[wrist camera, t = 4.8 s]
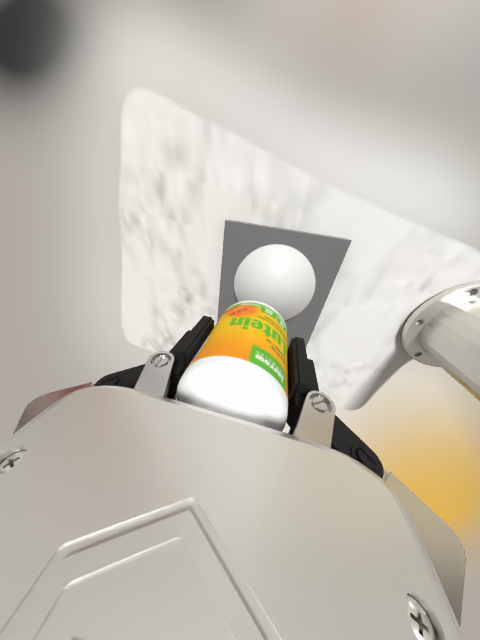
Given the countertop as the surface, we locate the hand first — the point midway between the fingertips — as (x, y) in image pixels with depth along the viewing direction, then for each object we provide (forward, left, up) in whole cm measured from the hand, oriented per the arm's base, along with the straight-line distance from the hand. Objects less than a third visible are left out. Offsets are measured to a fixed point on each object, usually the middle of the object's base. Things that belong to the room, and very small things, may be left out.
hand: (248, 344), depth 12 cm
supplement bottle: (0, 0, -2) cm, 2 cm away
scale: (-2, +1, -15) cm, 15 cm away
